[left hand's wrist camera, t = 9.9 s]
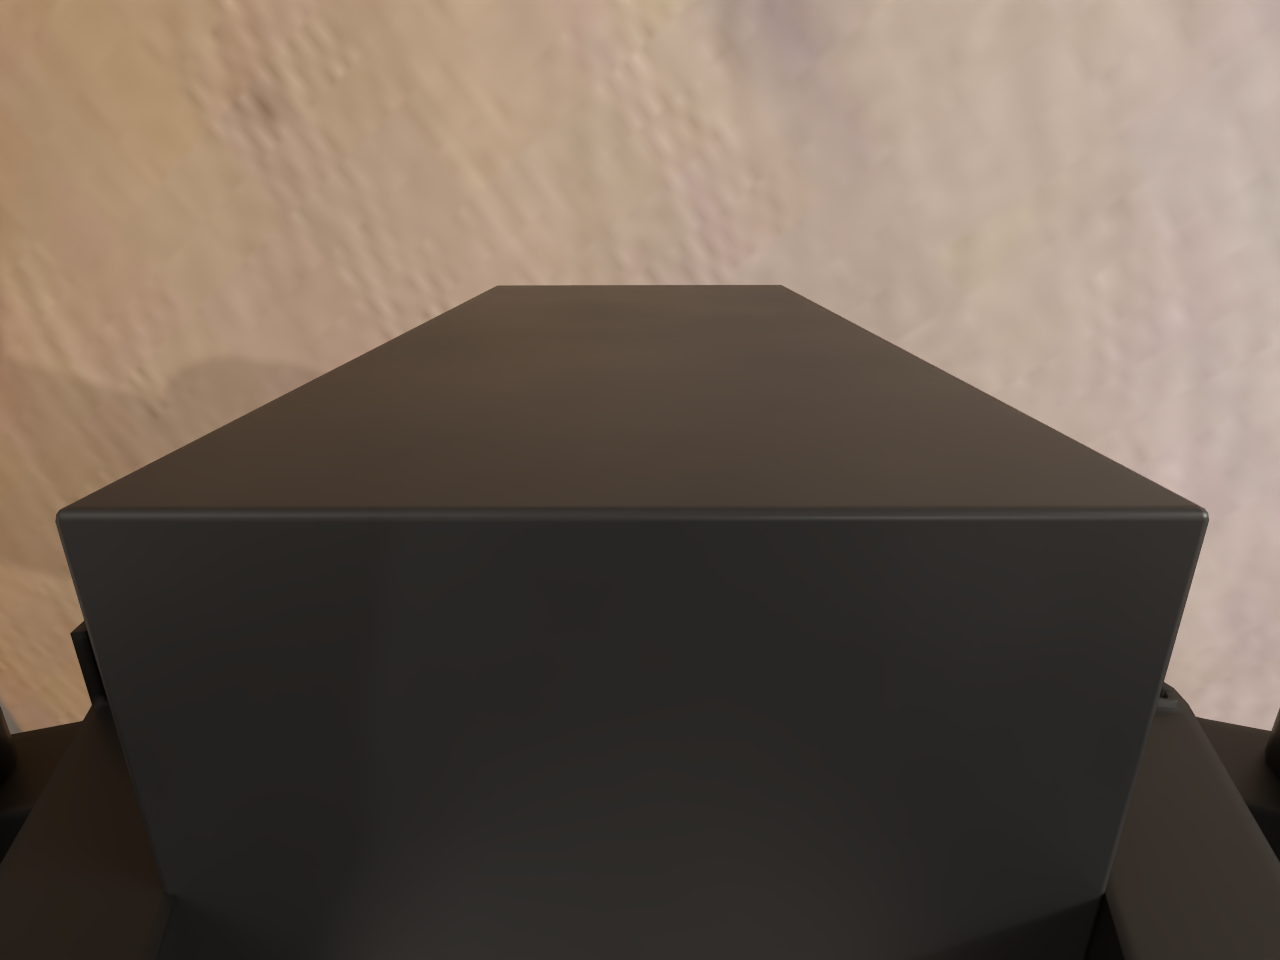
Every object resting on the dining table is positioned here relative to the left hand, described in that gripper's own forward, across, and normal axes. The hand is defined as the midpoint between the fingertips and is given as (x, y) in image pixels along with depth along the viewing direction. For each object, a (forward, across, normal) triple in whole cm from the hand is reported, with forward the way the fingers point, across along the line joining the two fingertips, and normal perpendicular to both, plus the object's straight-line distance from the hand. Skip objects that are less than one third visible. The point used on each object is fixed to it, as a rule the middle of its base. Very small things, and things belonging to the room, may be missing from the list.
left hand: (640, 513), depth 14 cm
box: (+4, 0, -9) cm, 10 cm away
